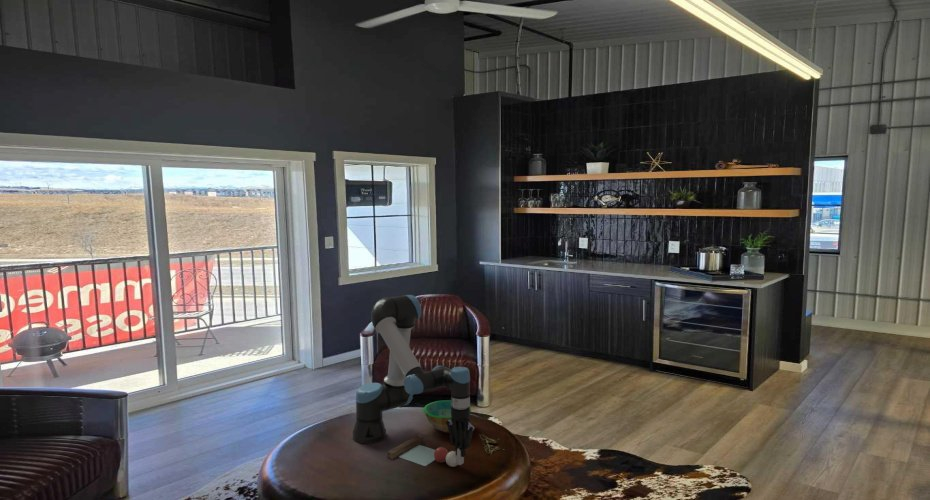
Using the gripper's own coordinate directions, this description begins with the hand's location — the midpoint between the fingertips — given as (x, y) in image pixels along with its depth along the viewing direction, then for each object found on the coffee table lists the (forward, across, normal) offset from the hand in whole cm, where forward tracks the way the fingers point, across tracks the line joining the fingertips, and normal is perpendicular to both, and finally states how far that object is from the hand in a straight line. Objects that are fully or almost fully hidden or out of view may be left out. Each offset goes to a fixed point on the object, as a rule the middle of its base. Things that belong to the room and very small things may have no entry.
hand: (460, 463), depth 227 cm
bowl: (+2, -27, +28) cm, 39 cm away
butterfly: (+3, 0, +23) cm, 23 cm away
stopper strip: (+2, -29, 0) cm, 29 cm away
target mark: (+2, -20, 0) cm, 20 cm away
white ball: (-1, -4, 0) cm, 4 cm away
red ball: (-1, -10, 0) cm, 10 cm away
